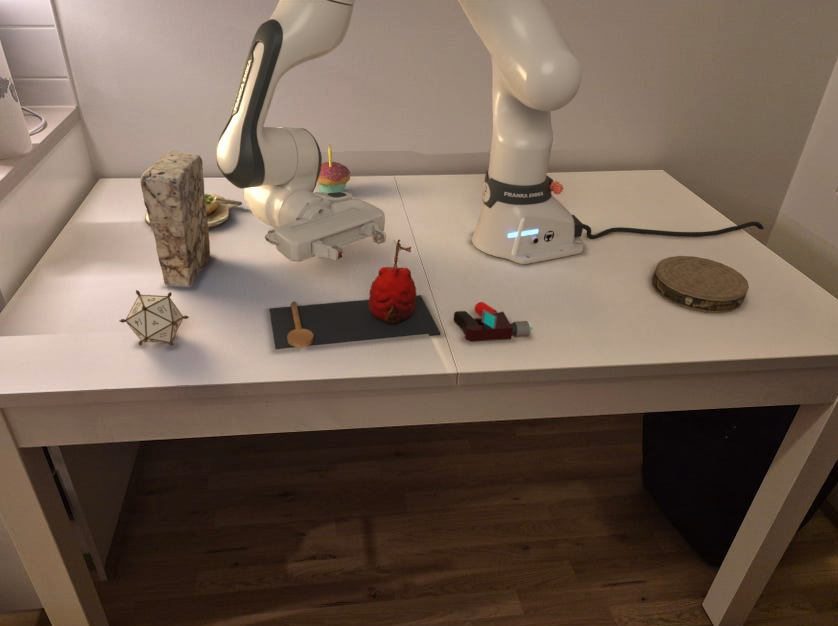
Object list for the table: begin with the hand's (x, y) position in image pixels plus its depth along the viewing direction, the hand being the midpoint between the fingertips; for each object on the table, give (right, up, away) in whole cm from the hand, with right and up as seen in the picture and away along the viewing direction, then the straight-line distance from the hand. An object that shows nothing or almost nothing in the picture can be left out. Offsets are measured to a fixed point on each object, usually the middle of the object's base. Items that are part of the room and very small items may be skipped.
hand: (361, 247), depth 106 cm
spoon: (-10, -13, -2) cm, 17 cm away
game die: (-31, -16, -7) cm, 35 cm away
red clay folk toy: (+5, -11, +1) cm, 12 cm away
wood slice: (+61, -6, +14) cm, 63 cm away
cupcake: (-10, +20, +44) cm, 49 cm away
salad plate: (-39, +12, +31) cm, 51 cm away
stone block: (-32, -3, +12) cm, 34 cm away
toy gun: (+21, -13, +1) cm, 25 cm away
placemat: (-1, -12, 0) cm, 12 cm away
